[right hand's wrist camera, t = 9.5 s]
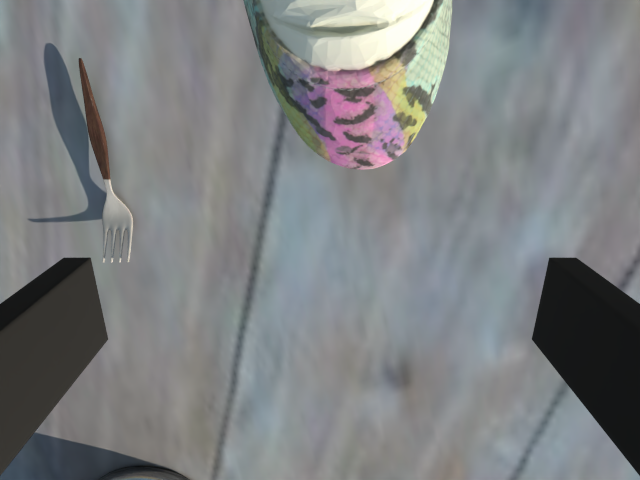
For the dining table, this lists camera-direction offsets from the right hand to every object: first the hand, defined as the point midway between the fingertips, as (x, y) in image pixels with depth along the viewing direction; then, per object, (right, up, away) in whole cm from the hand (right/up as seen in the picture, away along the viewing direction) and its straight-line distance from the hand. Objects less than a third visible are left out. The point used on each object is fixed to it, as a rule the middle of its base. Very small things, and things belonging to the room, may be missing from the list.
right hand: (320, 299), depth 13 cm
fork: (-17, +8, +23) cm, 30 cm away
